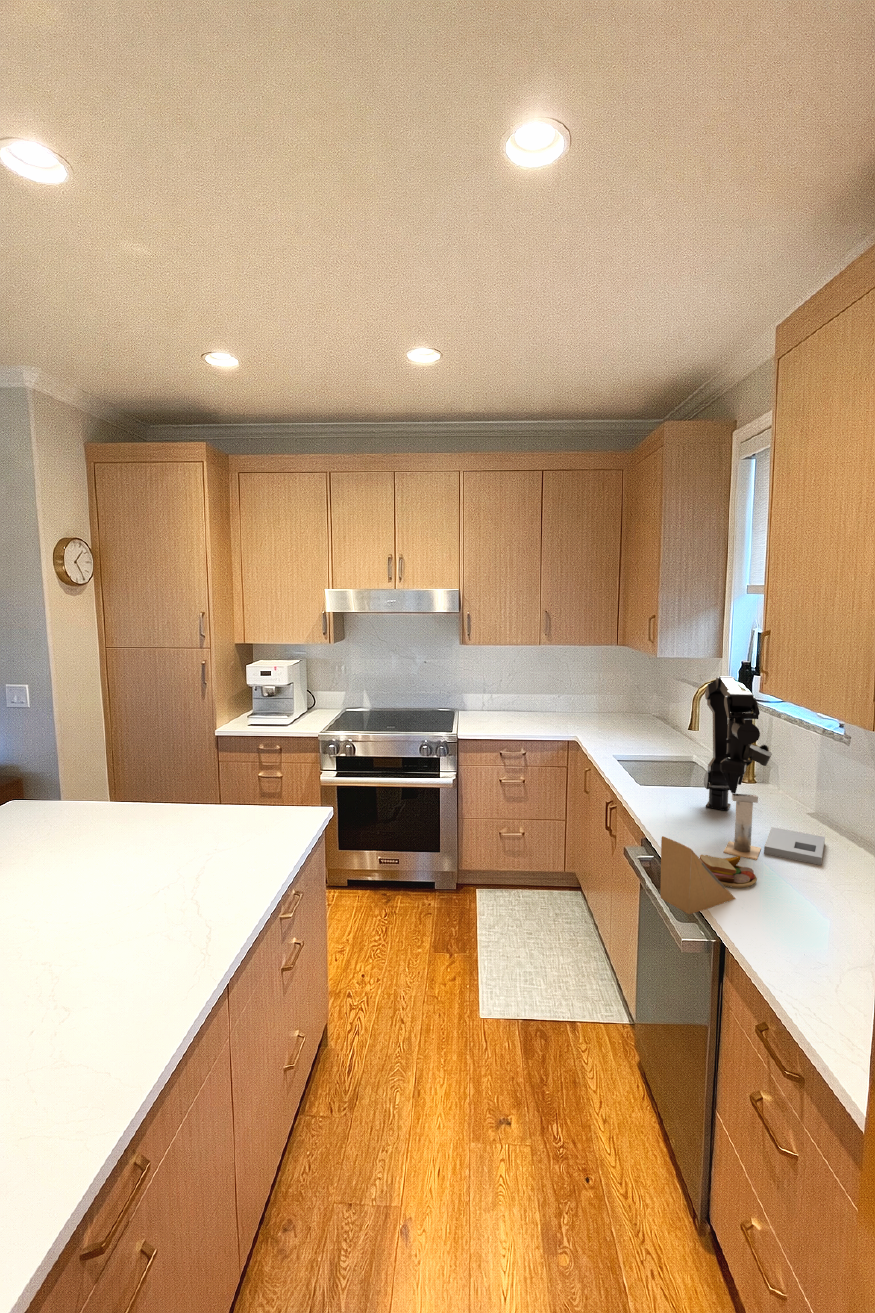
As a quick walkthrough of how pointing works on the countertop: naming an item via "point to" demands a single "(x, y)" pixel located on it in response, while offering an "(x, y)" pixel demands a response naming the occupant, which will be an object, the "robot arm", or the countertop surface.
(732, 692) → the robot arm
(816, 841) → the cover plate
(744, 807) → the t key
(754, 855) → the coaster
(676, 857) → the sandwich container
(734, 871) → the toy sandwich meal
